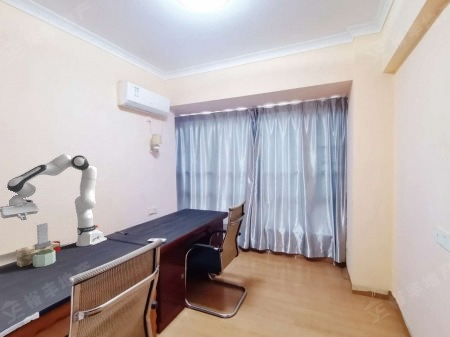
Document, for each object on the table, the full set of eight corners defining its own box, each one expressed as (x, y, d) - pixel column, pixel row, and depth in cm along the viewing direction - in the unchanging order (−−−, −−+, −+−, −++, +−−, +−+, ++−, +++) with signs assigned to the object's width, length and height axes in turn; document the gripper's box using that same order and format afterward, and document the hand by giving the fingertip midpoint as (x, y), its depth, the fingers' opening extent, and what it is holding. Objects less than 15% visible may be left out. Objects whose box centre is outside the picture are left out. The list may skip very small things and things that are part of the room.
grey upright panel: (49, 245, 152) (48, 222, 152) (50, 245, 152) (50, 222, 152) (34, 249, 145) (34, 225, 145) (36, 249, 144) (35, 225, 144)
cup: (49, 259, 155) (49, 248, 155) (58, 261, 150) (57, 250, 150) (30, 265, 146) (30, 254, 146) (39, 268, 141) (38, 256, 141)
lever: (53, 249, 175) (52, 240, 175) (63, 249, 173) (63, 241, 173) (28, 258, 157) (28, 249, 157) (40, 259, 156) (39, 249, 156)
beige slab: (48, 255, 162) (48, 241, 162) (59, 258, 156) (59, 243, 156) (16, 265, 146) (16, 249, 146) (27, 269, 140) (27, 252, 140)
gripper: (-1, 203, 153) (6, 219, 149) (35, 199, 171) (42, 213, 167) (-4, 210, 155) (3, 225, 150) (32, 205, 173) (39, 219, 169)
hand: (24, 219), depth 159 cm, fingers closed
